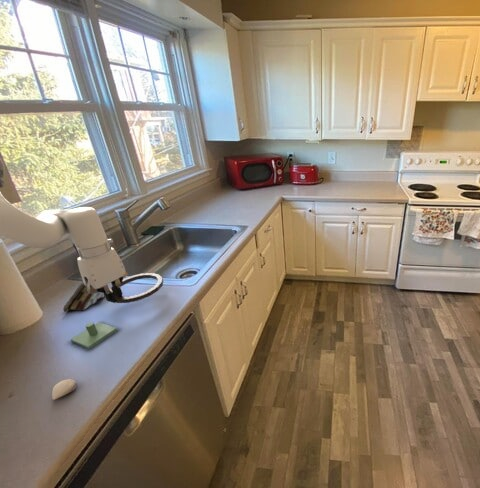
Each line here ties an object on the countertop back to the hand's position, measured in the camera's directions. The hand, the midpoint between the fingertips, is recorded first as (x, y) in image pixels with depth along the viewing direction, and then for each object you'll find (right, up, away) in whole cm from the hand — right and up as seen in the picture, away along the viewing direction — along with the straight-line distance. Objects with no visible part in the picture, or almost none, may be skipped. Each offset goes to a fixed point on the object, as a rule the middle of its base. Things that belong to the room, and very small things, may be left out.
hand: (115, 299), depth 90 cm
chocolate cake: (-15, -3, +8) cm, 17 cm away
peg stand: (-1, -10, -7) cm, 12 cm away
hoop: (+3, +2, +6) cm, 7 cm away
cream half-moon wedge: (+6, -18, -24) cm, 30 cm away
